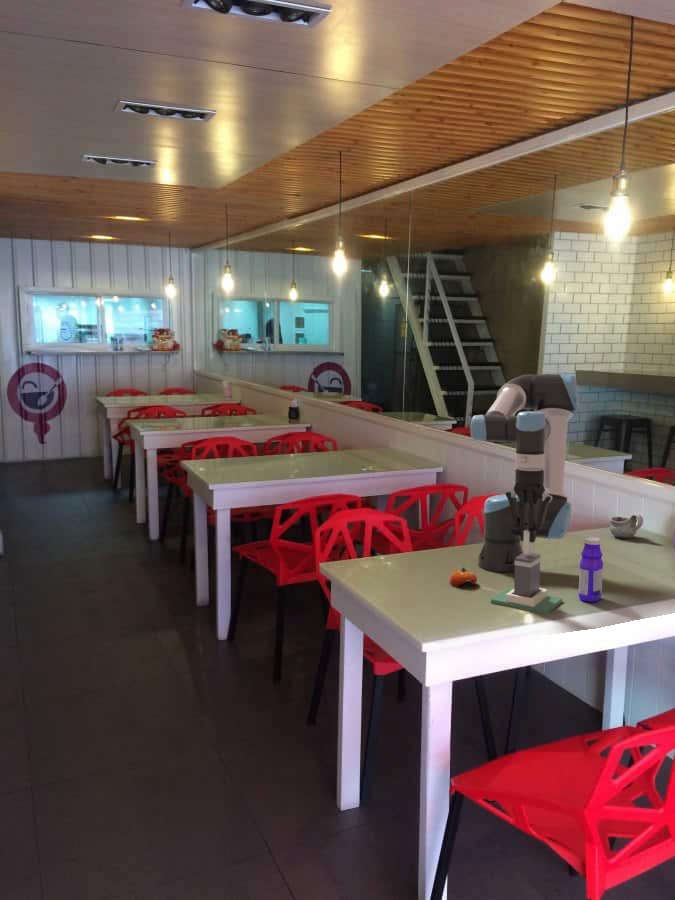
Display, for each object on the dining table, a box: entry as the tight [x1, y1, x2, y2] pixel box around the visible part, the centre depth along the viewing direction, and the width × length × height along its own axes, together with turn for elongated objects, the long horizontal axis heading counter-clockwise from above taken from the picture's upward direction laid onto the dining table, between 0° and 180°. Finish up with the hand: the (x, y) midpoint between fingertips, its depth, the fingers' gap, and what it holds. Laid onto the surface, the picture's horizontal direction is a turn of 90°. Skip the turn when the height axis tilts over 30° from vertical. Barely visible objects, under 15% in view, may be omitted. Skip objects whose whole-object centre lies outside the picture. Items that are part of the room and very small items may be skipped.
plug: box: [513, 552, 541, 598], centre depth 202 cm, size 5×8×12 cm, turn 144°
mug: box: [609, 513, 644, 539], centre depth 270 cm, size 10×12×10 cm
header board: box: [490, 587, 563, 615], centre depth 202 cm, size 16×12×3 cm
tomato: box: [449, 567, 478, 588], centre depth 218 cm, size 8×7×7 cm
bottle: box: [578, 536, 604, 603], centre depth 203 cm, size 7×6×17 cm
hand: (527, 553), depth 201 cm, fingers closed
